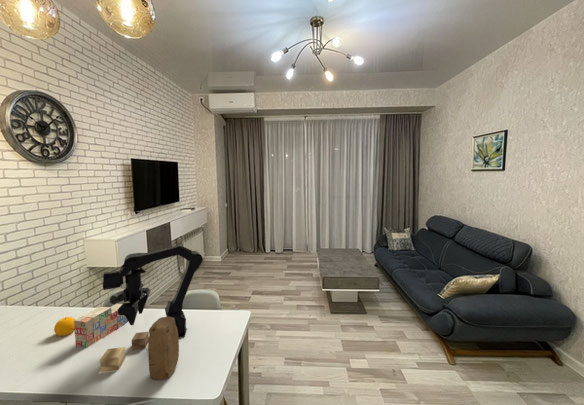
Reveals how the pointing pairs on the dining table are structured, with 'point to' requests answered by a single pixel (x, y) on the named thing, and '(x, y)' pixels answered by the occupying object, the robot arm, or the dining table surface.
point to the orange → (64, 326)
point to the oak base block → (112, 359)
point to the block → (163, 348)
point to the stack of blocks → (97, 325)
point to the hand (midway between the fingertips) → (136, 319)
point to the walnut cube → (140, 340)
